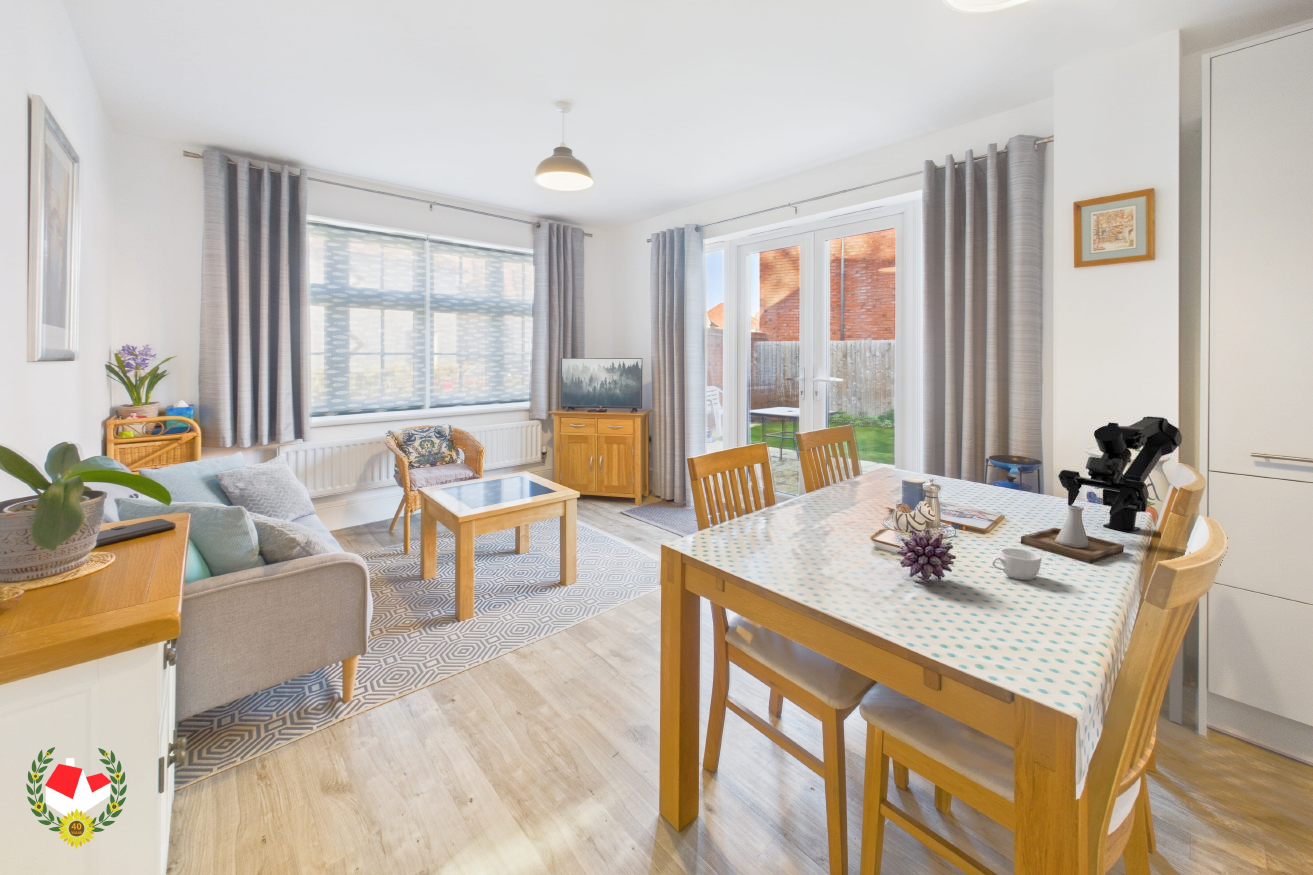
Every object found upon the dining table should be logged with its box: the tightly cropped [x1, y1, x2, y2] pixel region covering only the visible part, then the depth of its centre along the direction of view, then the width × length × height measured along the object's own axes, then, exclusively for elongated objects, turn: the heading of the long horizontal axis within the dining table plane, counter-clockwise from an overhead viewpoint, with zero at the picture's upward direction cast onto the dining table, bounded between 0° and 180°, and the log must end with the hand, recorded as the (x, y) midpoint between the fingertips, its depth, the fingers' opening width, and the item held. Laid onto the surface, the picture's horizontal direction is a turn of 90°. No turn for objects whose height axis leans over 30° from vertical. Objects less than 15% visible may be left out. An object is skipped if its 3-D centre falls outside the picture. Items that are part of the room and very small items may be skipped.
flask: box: [1055, 504, 1090, 548], centre depth 140 cm, size 7×7×10 cm
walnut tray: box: [1020, 527, 1125, 564], centre depth 141 cm, size 16×16×2 cm
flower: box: [896, 527, 957, 583], centre depth 121 cm, size 12×12×12 cm
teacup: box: [991, 547, 1043, 581], centre depth 123 cm, size 10×8×5 cm
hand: (1089, 509), depth 144 cm, fingers open, 9 cm apart
